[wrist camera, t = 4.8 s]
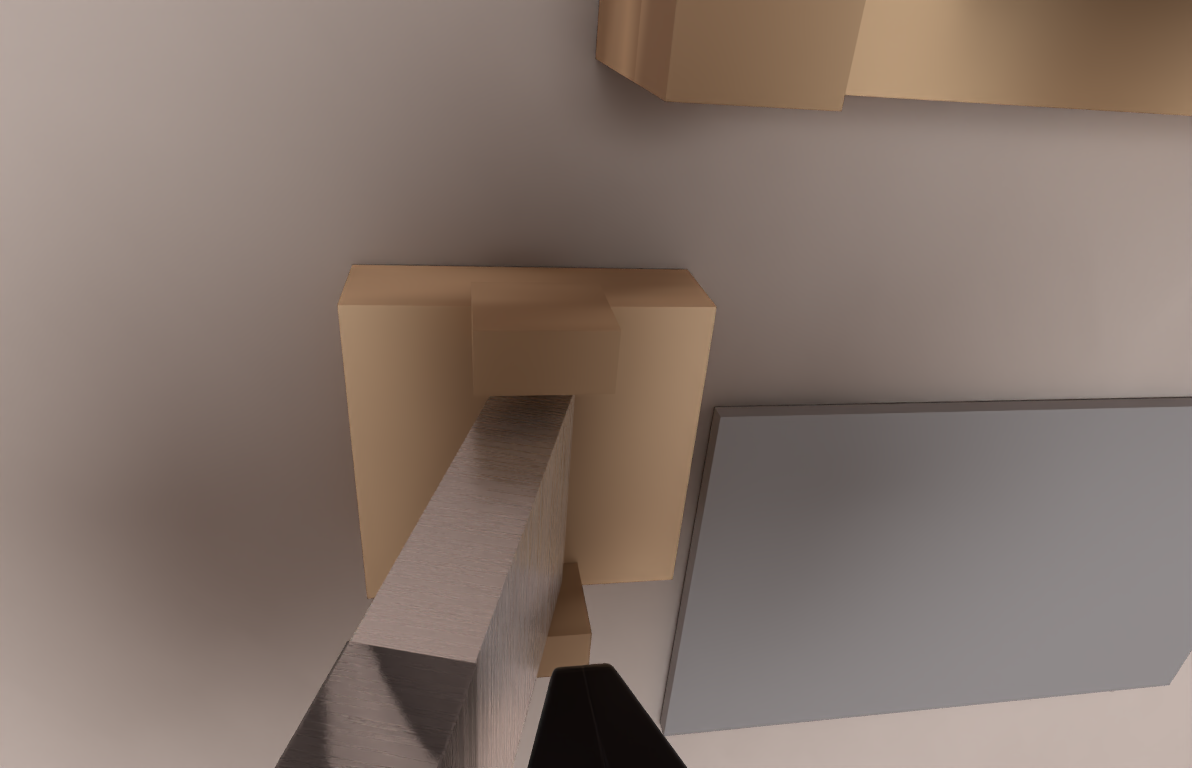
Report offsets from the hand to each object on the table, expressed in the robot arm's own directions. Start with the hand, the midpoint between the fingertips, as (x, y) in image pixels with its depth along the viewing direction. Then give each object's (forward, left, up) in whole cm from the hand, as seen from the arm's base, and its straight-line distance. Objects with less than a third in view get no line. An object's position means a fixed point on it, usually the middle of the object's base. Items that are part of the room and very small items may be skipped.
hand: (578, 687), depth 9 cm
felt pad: (-12, +5, -7) cm, 14 cm away
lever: (0, 0, -4) cm, 4 cm away
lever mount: (0, 0, -7) cm, 7 cm away
